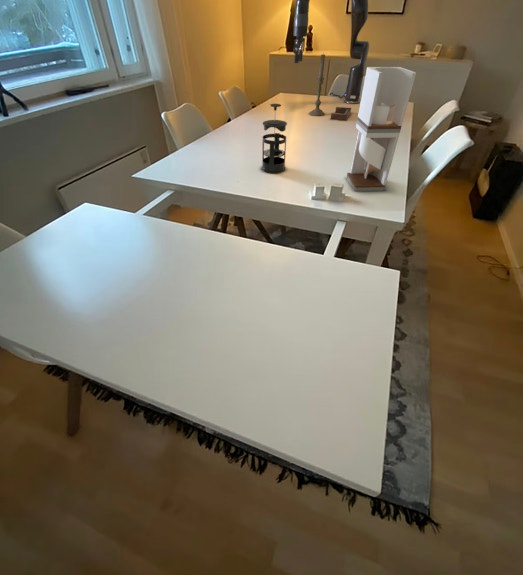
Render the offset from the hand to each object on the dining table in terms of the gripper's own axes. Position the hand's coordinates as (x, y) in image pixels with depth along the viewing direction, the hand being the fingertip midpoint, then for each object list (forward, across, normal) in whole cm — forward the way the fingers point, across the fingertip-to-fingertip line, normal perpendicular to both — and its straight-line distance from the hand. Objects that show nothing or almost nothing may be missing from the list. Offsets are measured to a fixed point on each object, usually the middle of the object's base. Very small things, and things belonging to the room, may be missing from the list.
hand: (298, 62), depth 180 cm
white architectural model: (+26, +94, +52) cm, 111 cm away
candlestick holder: (+26, 0, +14) cm, 29 cm away
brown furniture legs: (+25, 0, +28) cm, 38 cm away
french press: (+26, +91, +15) cm, 96 cm away
